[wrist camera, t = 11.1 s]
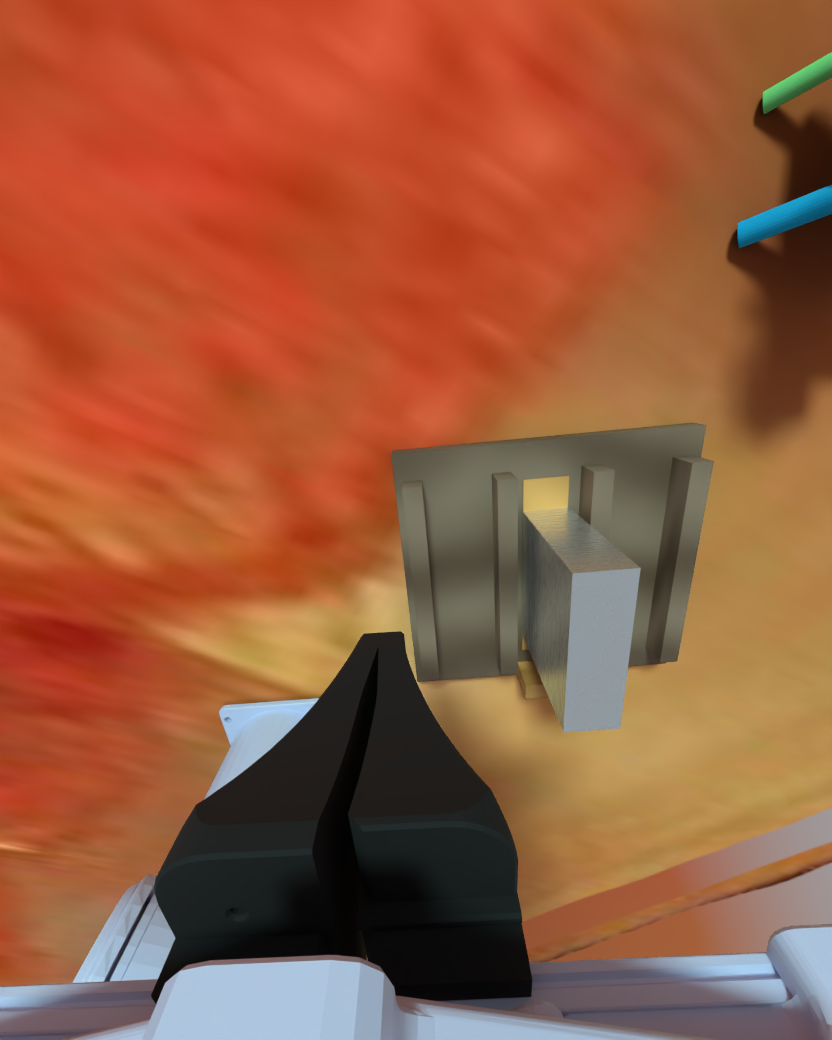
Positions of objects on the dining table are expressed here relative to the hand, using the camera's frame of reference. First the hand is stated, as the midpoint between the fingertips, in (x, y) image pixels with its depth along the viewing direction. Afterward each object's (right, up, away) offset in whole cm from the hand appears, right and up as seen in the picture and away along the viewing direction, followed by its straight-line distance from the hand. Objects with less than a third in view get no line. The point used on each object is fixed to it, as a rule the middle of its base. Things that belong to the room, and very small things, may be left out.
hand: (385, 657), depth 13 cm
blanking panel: (+8, +1, +9) cm, 13 cm away
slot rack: (+8, +2, +10) cm, 13 cm away
